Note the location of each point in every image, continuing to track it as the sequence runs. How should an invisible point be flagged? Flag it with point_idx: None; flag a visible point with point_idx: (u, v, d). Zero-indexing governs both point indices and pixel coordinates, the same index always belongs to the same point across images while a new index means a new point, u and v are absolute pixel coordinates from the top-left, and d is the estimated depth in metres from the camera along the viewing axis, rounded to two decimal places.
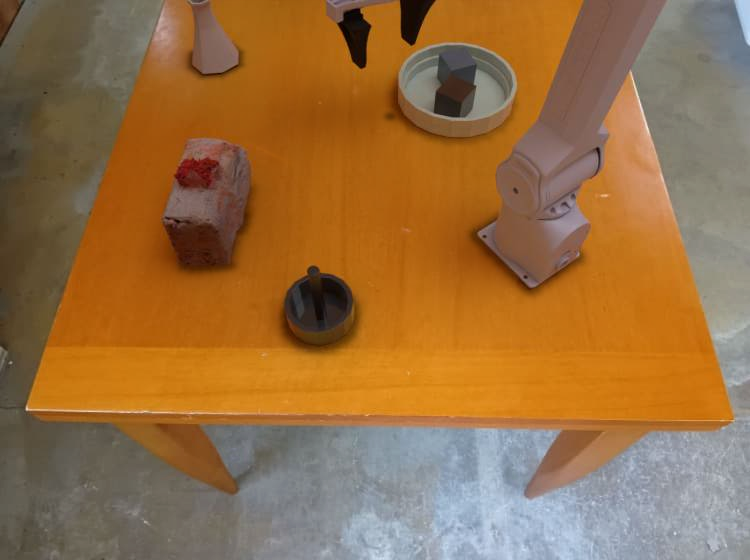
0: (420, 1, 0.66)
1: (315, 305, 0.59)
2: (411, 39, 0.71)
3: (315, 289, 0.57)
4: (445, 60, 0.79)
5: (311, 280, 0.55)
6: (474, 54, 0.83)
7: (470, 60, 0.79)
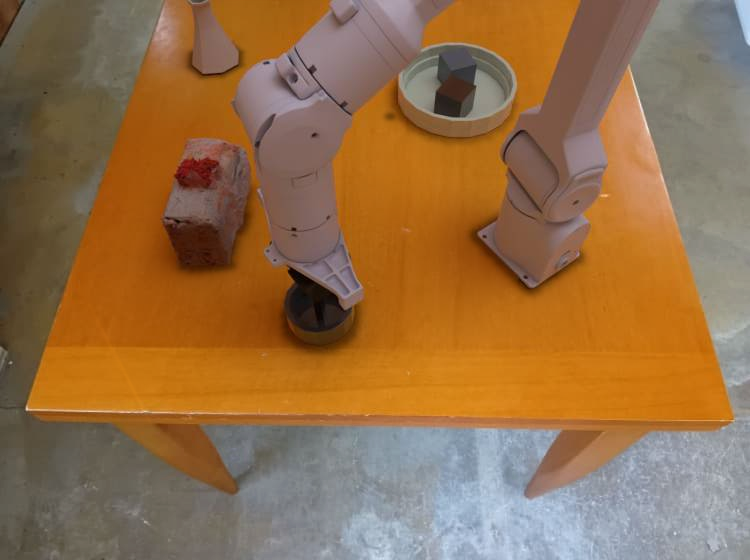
0: None
1: (315, 305, 0.59)
2: None
3: None
4: (445, 60, 0.79)
5: None
6: (474, 54, 0.83)
7: (470, 60, 0.79)
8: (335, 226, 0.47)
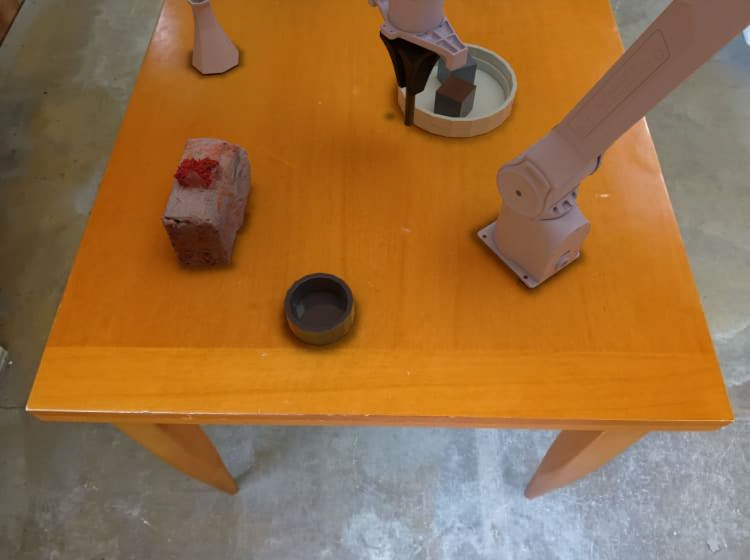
0: None
1: (407, 107, 0.69)
2: None
3: None
4: (445, 60, 0.79)
5: None
6: (474, 54, 0.83)
7: (470, 60, 0.79)
8: None
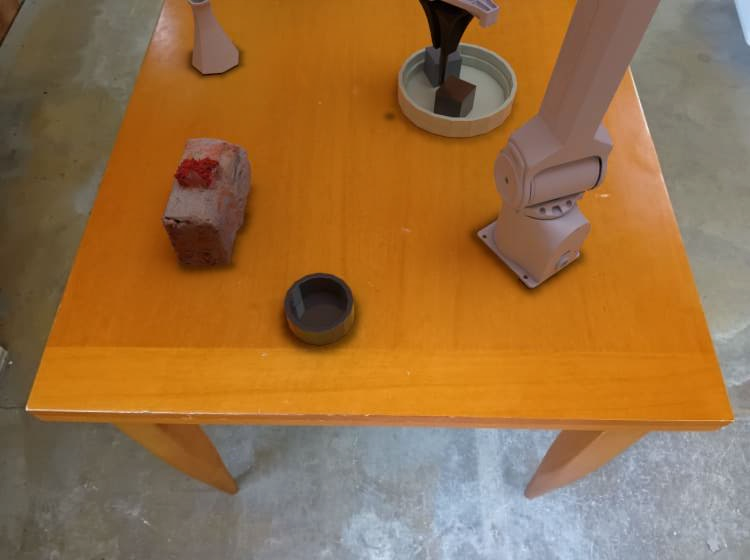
0: None
1: (440, 67, 0.77)
2: None
3: None
4: (431, 54, 0.80)
5: None
6: (474, 54, 0.83)
7: (455, 54, 0.79)
8: None
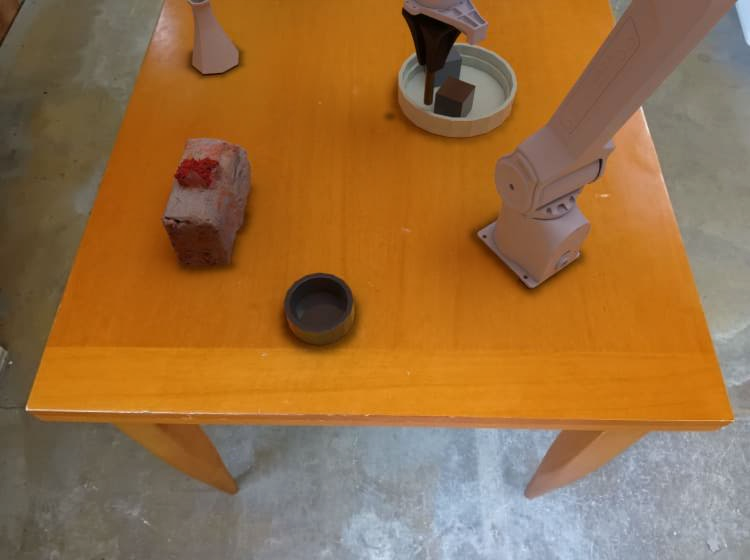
0: None
1: (426, 85, 0.71)
2: None
3: None
4: None
5: None
6: (474, 54, 0.83)
7: (455, 54, 0.79)
8: None
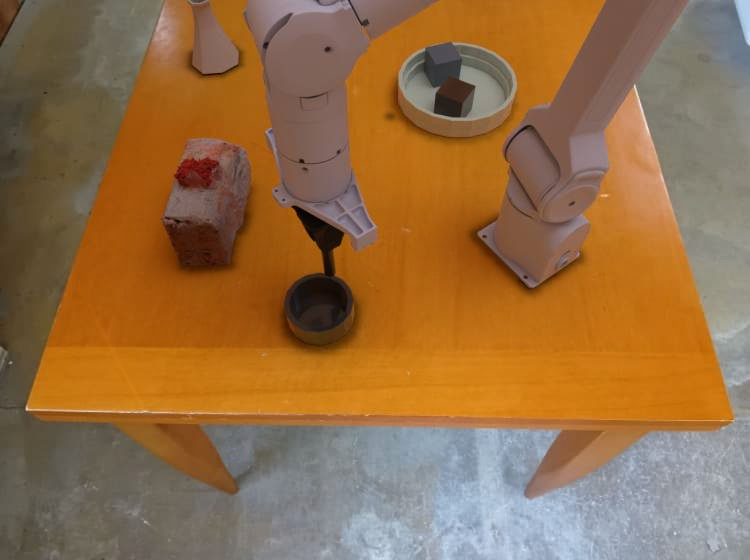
0: None
1: (323, 259, 0.57)
2: None
3: None
4: (431, 54, 0.80)
5: None
6: (474, 54, 0.83)
7: (455, 54, 0.79)
8: (348, 163, 0.45)
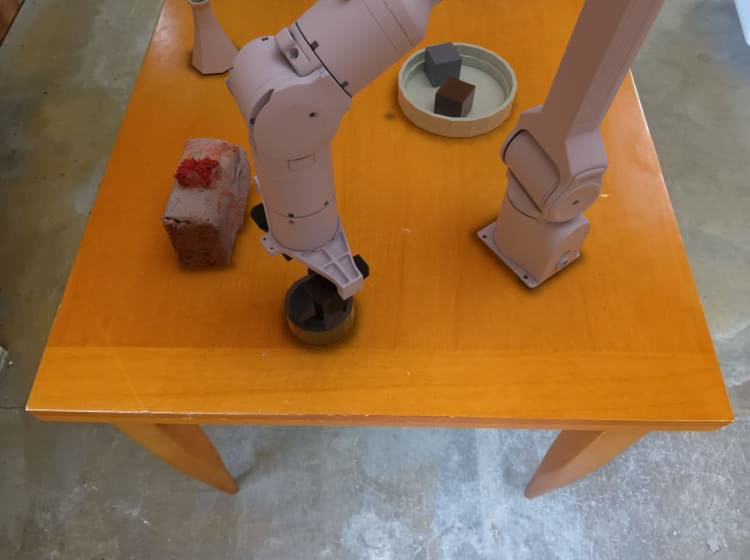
0: None
1: (314, 305, 0.59)
2: None
3: None
4: (431, 54, 0.80)
5: None
6: (474, 54, 0.83)
7: (455, 54, 0.79)
8: (334, 213, 0.46)
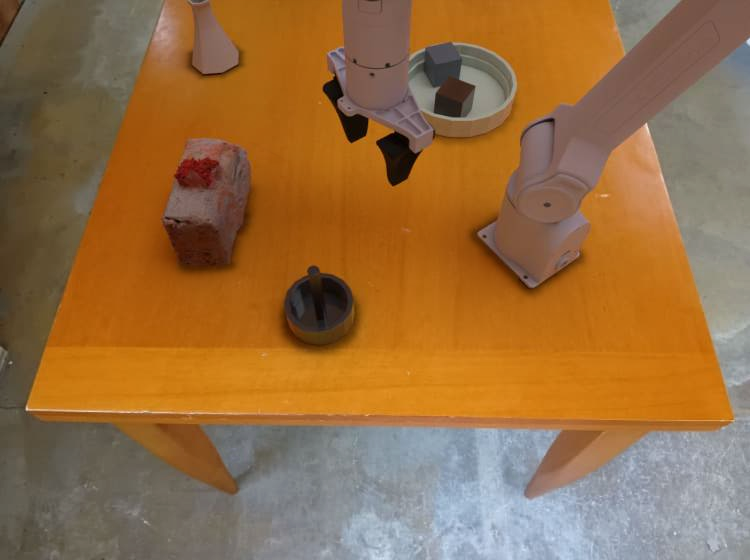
0: None
1: (314, 305, 0.59)
2: (365, 129, 0.62)
3: (314, 289, 0.57)
4: (431, 54, 0.80)
5: (310, 279, 0.55)
6: (474, 54, 0.83)
7: (455, 54, 0.79)
8: (407, 72, 0.51)
